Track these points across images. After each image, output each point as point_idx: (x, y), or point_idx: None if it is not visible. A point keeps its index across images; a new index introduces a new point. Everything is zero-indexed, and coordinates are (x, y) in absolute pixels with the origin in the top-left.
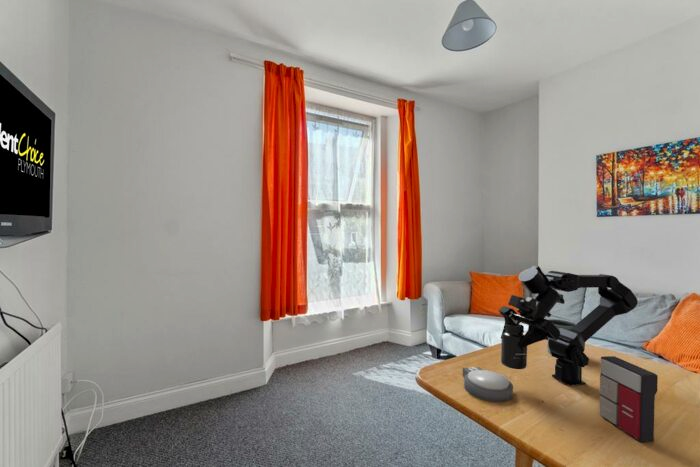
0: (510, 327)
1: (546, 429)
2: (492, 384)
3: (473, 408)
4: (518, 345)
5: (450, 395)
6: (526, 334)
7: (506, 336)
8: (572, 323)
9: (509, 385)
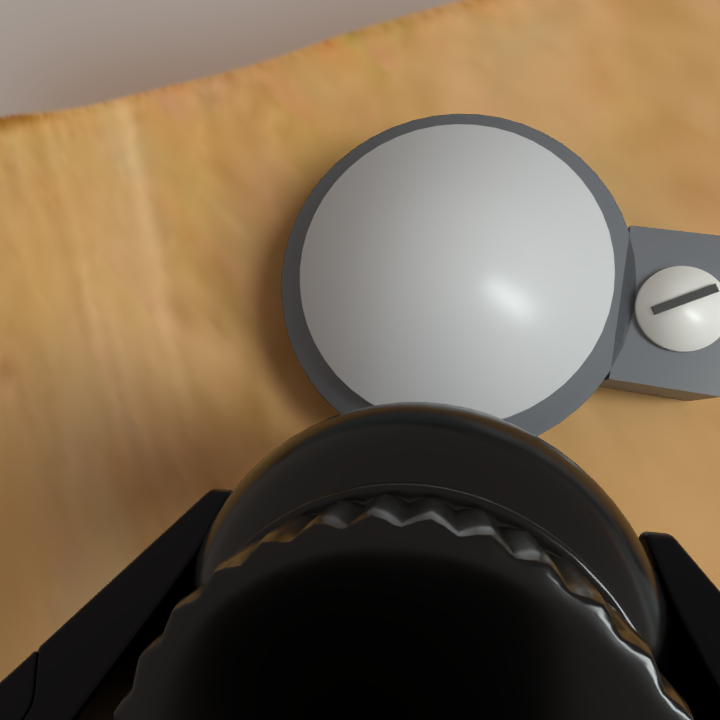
0: (317, 521)
1: (31, 300)
2: (349, 228)
3: (293, 71)
4: (217, 493)
5: (456, 20)
6: (35, 717)
7: (400, 421)
8: None
9: (348, 389)
